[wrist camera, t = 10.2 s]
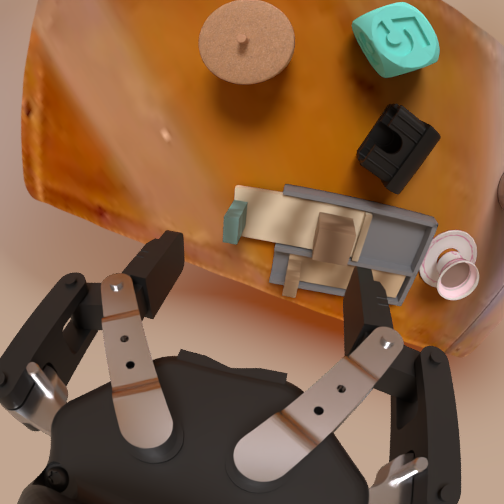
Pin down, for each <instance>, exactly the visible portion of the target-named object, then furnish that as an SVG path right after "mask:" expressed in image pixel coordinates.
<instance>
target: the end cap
mask: <svg viewBox="0 0 504 504" xmlns="http://www.w3.org/2000/svg"><path fill="white" fill-rule="evenodd" d="M439 140H440V135H439V133H438V132H437V131H436V130H435V129H434V128H433V127H432V126H431V125H429V124H427V123H425V122H423V121H421V120H419V119H418V118H417V117H415V116H414V115H413V114H412V113H411V112H409V111H408V110H407V109H406V108H404V107H403V106H402V105H400V106H399V105H398V104H389V105H388V106H387V107H386V109H385V110H384V112H383V113H382V115H381V116H380V118H379V119H378V121H377V122H376V124H375V125H374V127H373V128H372V129H371V131H370V132H369V134H368V135H367V137H366V138H365V140H364V141H363V143H362V144H361V145H360V147H359V148H358V150H357V157H358V160H359V161H360V165H362V166H363V167H364V168H366V169H367V170H369V171H370V172H372V173H373V174H374V175H376V176H377V177H378V178H380V179H381V181H382V183H383V184H384V186H385V187H386V188H387V189H388V190H390V191H391V192H393V193H395V194H399V193H400V192H401V191H402V190H403V188H404V187H405V186H406V185H407V183H408V182H409V181H410V179H411V178H412V177H413V175H414V174H415V173H416V171H417V170H418V169H419V167H420V166H421V165H422V163H423V162H424V160H425V159H426V158H427V156H428V155H429V154H430V152H431V151H432V149H433V148H434V147H435V145H436V144H437V142H438V141H439Z"/></svg>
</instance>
